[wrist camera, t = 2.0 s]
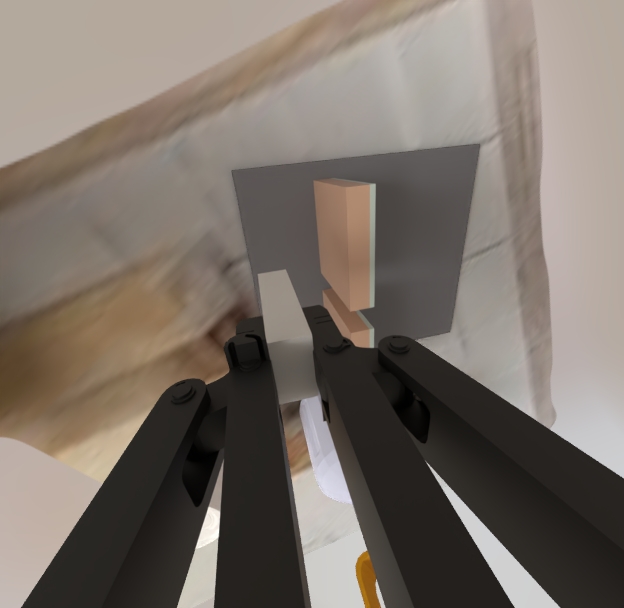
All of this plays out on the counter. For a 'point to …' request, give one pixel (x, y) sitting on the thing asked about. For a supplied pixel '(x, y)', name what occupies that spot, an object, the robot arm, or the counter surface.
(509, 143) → the counter surface
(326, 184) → the tile
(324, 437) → the soap bottle
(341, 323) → the tile
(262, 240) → the mat
